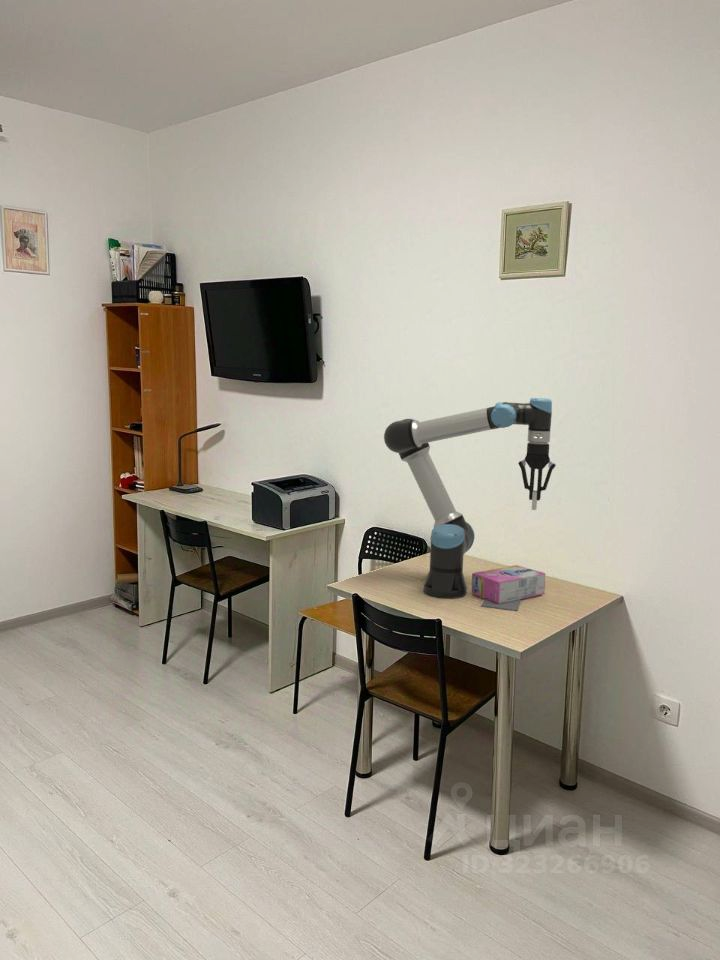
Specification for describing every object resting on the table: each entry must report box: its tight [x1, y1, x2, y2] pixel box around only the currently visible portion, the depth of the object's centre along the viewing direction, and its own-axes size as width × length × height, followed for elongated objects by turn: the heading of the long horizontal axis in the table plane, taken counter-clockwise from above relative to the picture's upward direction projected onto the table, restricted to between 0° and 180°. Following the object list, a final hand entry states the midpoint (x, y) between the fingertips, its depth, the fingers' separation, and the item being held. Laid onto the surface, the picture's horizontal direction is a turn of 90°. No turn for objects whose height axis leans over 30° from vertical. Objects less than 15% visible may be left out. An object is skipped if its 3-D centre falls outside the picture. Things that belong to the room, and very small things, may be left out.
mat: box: [480, 598, 522, 612], centre depth 258 cm, size 12×20×1 cm, turn 162°
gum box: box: [471, 564, 546, 604], centre depth 263 cm, size 24×8×14 cm
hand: (534, 509), depth 263 cm, fingers closed
